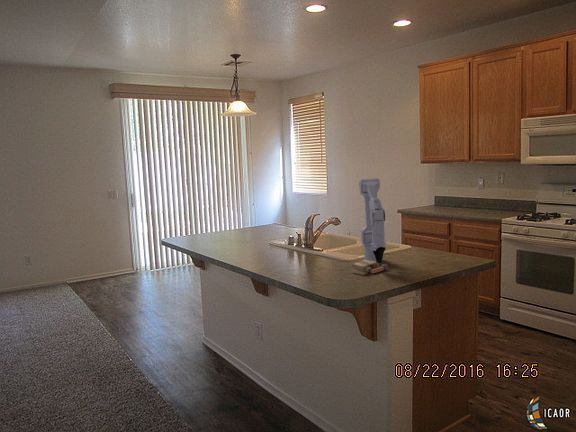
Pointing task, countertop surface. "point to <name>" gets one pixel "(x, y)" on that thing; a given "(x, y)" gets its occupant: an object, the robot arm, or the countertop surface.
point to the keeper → (379, 269)
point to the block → (364, 266)
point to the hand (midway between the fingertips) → (379, 262)
